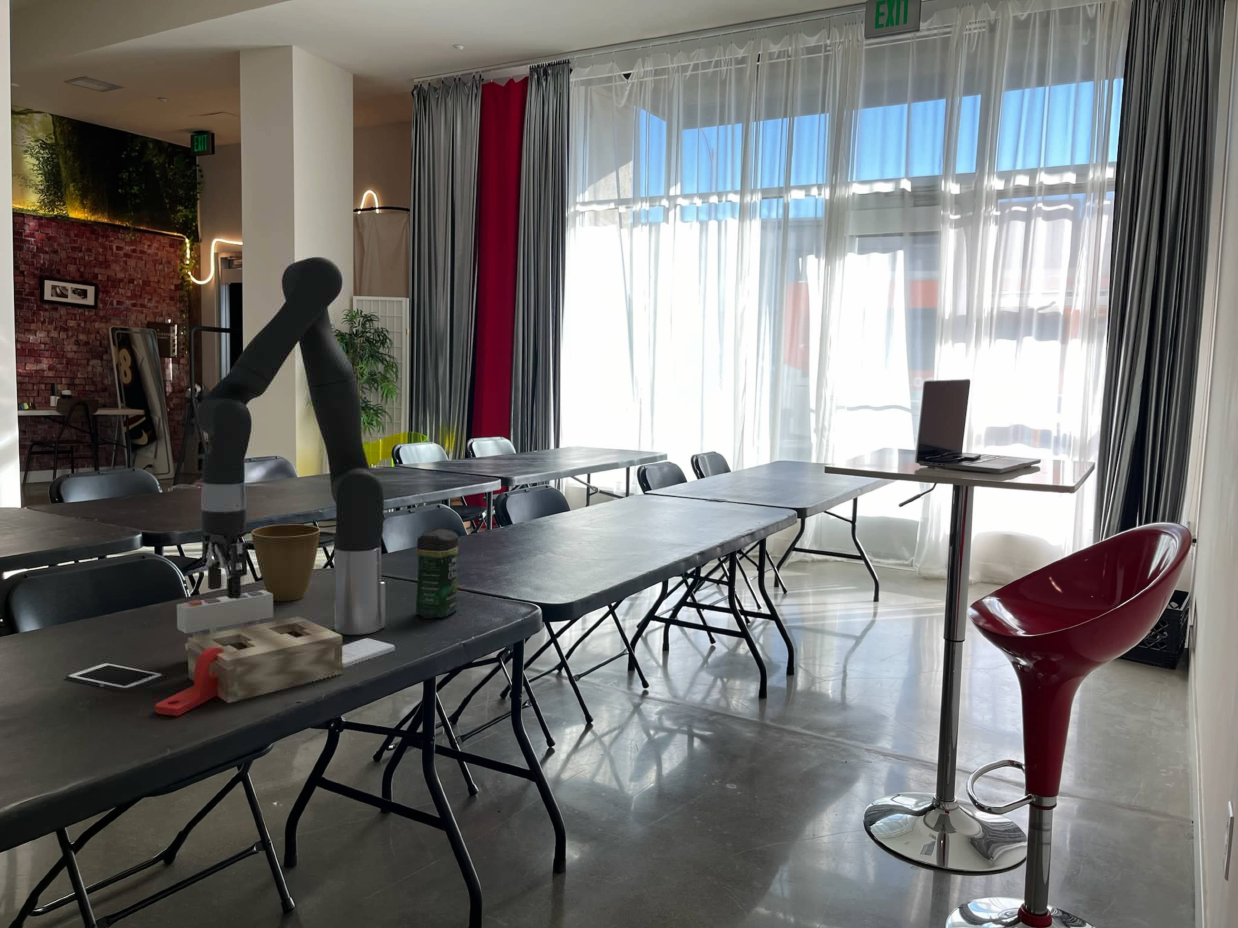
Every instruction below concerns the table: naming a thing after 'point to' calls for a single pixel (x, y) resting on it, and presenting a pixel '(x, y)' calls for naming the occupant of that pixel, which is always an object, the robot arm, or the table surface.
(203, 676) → the bracket
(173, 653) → the table surface
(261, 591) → the power strip
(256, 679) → the wooden block with holes
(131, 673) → the cell phone
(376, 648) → the external hard drive
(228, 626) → the block
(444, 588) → the coffee jar
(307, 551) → the plant pot
